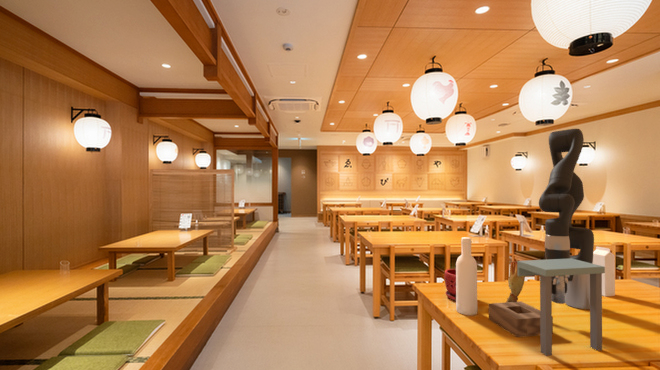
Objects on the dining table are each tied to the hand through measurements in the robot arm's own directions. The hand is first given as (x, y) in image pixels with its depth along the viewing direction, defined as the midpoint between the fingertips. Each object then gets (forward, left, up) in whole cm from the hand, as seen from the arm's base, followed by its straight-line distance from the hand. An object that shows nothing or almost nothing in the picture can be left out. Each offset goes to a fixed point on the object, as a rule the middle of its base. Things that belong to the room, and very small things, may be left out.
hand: (557, 292), depth 113 cm
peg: (0, 0, -3) cm, 3 cm away
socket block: (+16, 0, -11) cm, 20 cm away
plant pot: (+21, -29, -11) cm, 38 cm away
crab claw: (+7, -13, -11) cm, 19 cm away
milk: (-49, -23, -11) cm, 55 cm away
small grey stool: (+13, +13, -11) cm, 22 cm away
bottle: (+27, -15, -11) cm, 33 cm away
